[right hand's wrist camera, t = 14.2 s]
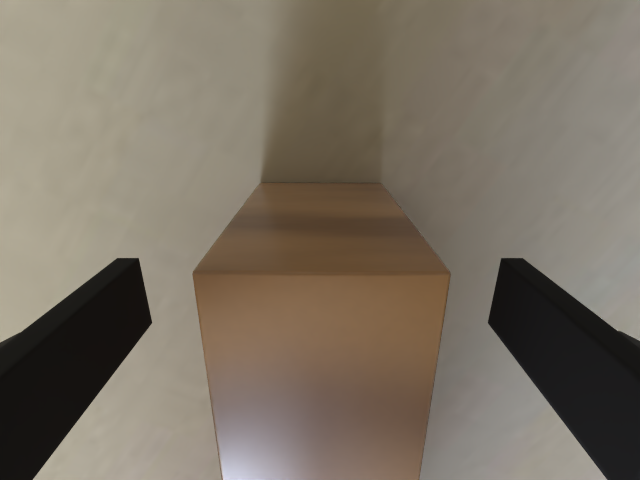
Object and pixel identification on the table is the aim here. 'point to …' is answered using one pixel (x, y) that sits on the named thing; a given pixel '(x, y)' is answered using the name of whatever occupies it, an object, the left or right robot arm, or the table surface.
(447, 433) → the table surface
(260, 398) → the bar
